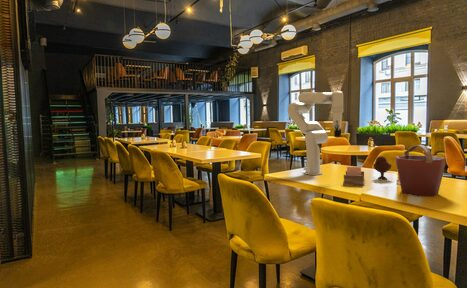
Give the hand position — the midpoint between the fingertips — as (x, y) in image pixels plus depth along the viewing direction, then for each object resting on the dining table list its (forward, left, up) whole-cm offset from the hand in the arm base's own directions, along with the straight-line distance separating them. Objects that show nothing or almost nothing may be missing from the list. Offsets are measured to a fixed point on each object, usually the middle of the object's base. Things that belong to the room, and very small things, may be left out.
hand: (337, 136), depth 215 cm
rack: (+16, -6, -28) cm, 33 cm away
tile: (+16, -6, -27) cm, 32 cm away
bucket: (+55, -7, -28) cm, 62 cm away
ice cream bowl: (+21, +18, -28) cm, 40 cm away
